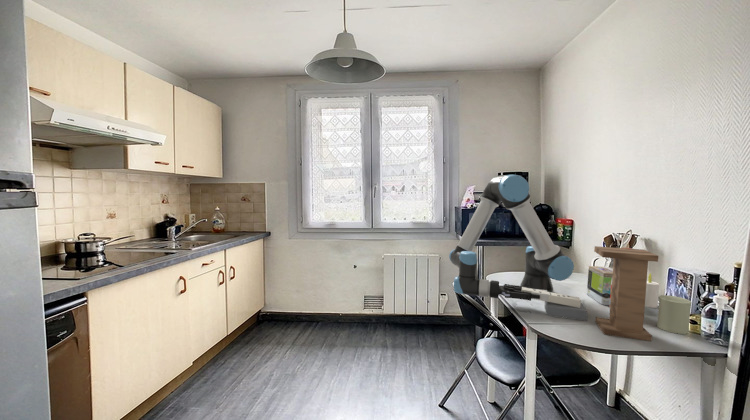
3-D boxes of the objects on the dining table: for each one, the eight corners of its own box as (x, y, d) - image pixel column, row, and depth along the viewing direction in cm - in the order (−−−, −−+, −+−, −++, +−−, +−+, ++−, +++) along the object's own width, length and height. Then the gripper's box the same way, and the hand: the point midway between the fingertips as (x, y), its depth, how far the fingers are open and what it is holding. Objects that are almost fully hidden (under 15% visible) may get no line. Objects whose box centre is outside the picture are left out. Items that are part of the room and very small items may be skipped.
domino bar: (520, 293, 149) (521, 286, 149) (577, 304, 142) (578, 297, 141) (521, 296, 145) (522, 289, 145) (579, 307, 138) (581, 300, 137)
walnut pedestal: (589, 321, 134) (594, 246, 132) (638, 327, 129) (644, 249, 127) (597, 333, 123) (603, 251, 121) (651, 341, 118) (658, 255, 115)
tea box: (625, 306, 152) (628, 274, 151) (601, 305, 153) (603, 272, 152) (608, 295, 167) (610, 266, 165) (585, 294, 168) (587, 265, 167)
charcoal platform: (544, 307, 149) (544, 298, 149) (581, 312, 144) (581, 302, 144) (547, 315, 140) (547, 306, 139) (586, 320, 135) (587, 311, 134)
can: (650, 323, 133) (652, 293, 132) (672, 323, 133) (674, 293, 133) (672, 334, 124) (675, 302, 123) (696, 334, 124) (698, 302, 123)
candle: (659, 305, 154) (662, 273, 152) (655, 308, 150) (658, 275, 148) (642, 301, 159) (644, 270, 157) (637, 304, 154) (640, 272, 153)
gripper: (489, 291, 160) (544, 297, 152) (488, 303, 144) (549, 311, 136) (490, 275, 159) (545, 281, 151) (489, 285, 143) (551, 292, 135)
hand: (547, 295), depth 144 cm, fingers closed on domino bar, 4 cm apart
